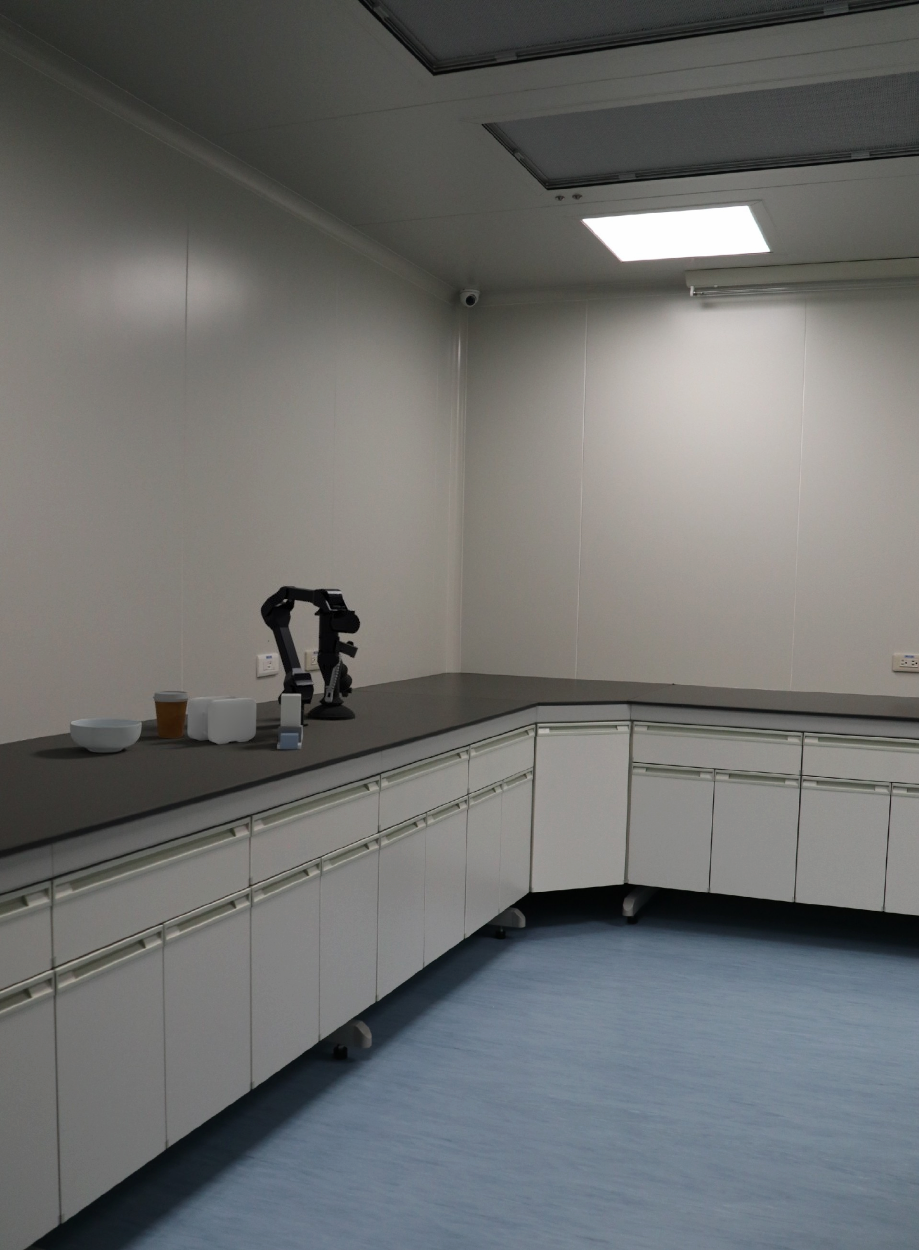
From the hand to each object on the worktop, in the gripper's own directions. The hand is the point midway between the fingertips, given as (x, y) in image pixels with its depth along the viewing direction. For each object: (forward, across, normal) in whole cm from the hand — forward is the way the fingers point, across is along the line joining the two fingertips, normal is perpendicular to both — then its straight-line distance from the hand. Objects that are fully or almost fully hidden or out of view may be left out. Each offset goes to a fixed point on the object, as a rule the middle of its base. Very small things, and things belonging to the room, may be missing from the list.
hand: (327, 685), depth 302 cm
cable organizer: (+13, -21, +28) cm, 37 cm away
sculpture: (+13, +34, -3) cm, 37 cm away
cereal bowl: (+13, -38, +54) cm, 67 cm away
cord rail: (+13, -22, +9) cm, 27 cm away
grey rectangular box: (+12, -25, +10) cm, 29 cm away
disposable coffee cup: (+13, -14, +42) cm, 46 cm away
